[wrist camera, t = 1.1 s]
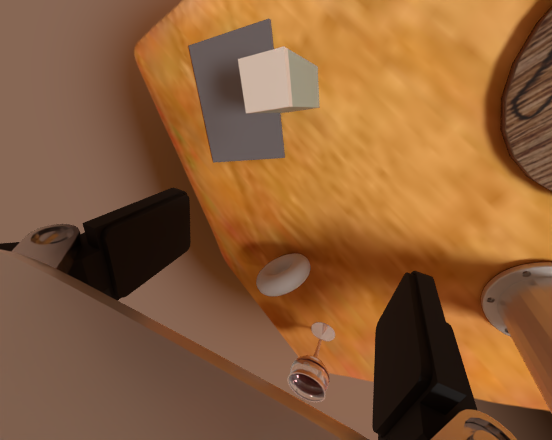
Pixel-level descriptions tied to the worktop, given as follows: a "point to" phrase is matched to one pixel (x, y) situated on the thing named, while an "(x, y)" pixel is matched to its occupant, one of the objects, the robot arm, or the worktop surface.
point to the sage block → (278, 82)
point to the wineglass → (311, 369)
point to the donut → (283, 274)
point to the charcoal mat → (234, 96)
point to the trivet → (531, 105)
